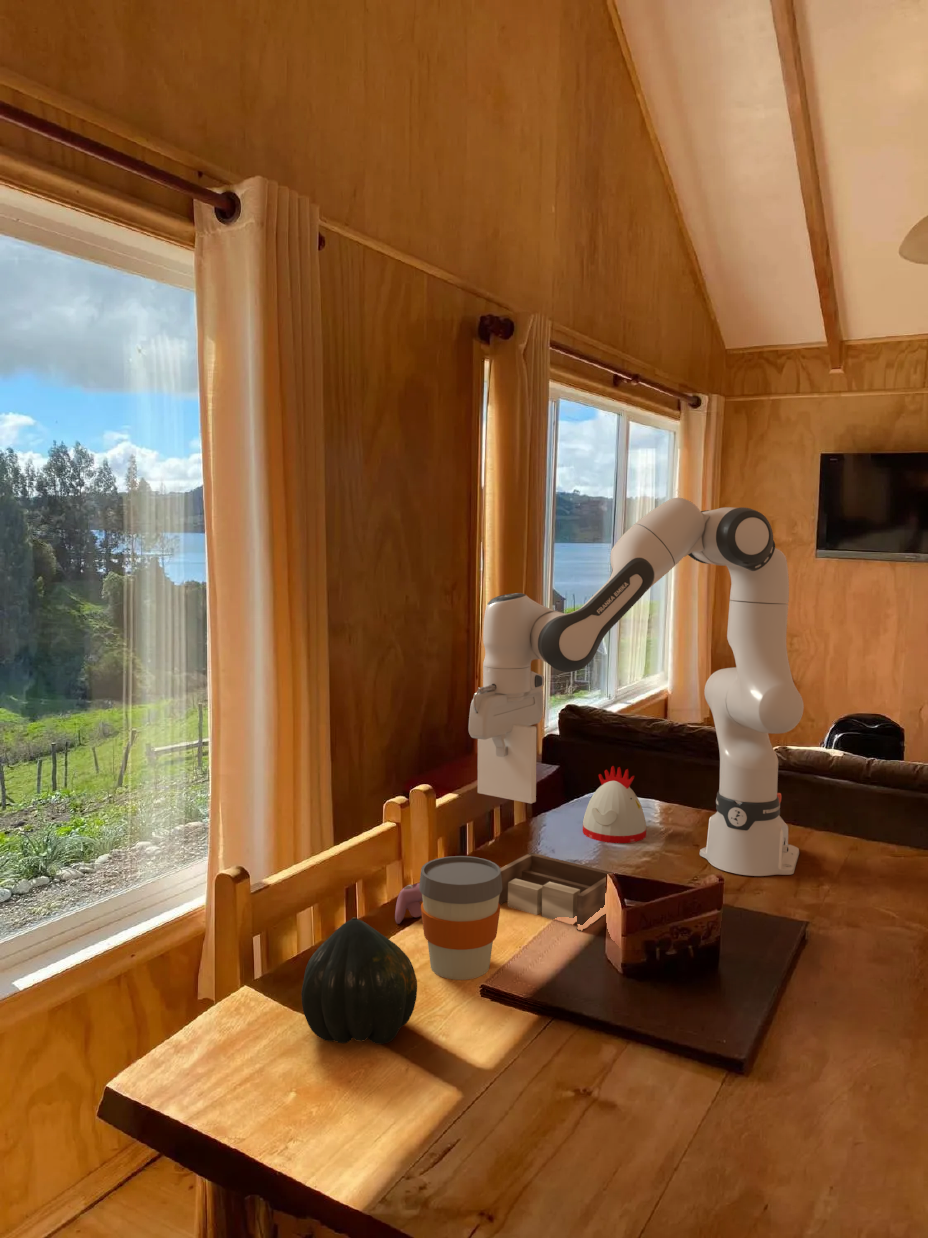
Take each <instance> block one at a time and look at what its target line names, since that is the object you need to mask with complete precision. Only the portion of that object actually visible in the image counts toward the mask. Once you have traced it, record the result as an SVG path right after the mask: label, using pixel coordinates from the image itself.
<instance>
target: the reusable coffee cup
mask: <svg viewBox="0 0 928 1238" xmlns="http://www.w3.org/2000/svg"><path fill="white" fill-rule="evenodd" d="M500 868H501V867H500V866H499V865H498V864H497V863H496V862H493V861H491V860H489V859H486V858H480V857H477V856H470V855H469V856H468V855H455V856H452V855H451V856H445V857H439V858H435V859H432V860H429V861H428V862H426V863H424V864H423V865H422V866H421V869H420V877H419V883H420V884H419V890H420V892H421V893H422V899H423V901H421V903H420V904H421V913H422V915H421V919H422V920H421V922H422V930H423V936H424V938H425V940H426V941H427V948H428V954H429V966H430V969H431V971H432V972H433V973H434V974H436V975H437V976H439V977H441V978H445V979H449V980H456V981H460V980H461V981H462V980H463V981H465V980H472V979H476V978H480V977H482V976H483V975H485V974H486V973H488V971H489V969H490V967H491V966H490V965H491V957H492V950H493V942H494V941H495V940H496V938H497V935H498V928H499V922H500V913H501V904H499V903H498V902H499V895H500V893H501V892H502V878H501V870H500Z"/></svg>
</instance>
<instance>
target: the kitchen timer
mask: <svg viewBox="0 0 928 1238" xmlns="http://www.w3.org/2000/svg"><path fill="white" fill-rule="evenodd" d="M604 776H605V779H604V777H603V775H602V774H601V773H599V774H598V779H599V782H600V784H601V785H600V786H599V787H598V788H597V789H596V790H595V791H594V793H593V795H592V797H590V799H589V802H588V804H587V807H586V809H585V812H584V817H583V821H582V833H583V835H584V836H585V837H587V838H589V839H591V840H594V841H598V842H604V843H609V844H631V843H637V842H639V841H643V840H644V839H645V838H646V837H647V822H646V817H645V814H644V811H643V807H642V804H641V801H640V800H639V798H638V796H637V795H636V793H635V792H634V790H633V789H632V788H631V786H632V785H631V784H632V783H633V781H634V779H635V775H632V776H630V778H629V768H627V769H625V770H624V773H623V775H622V769H621V766H619V767H617V771H616V769H615V766H614V765H612V766H611V768H610V772H609V771H608V769H605V770H604Z"/></svg>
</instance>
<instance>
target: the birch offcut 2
mask: <svg viewBox="0 0 928 1238" xmlns="http://www.w3.org/2000/svg"><path fill="white" fill-rule="evenodd" d="M578 894H580V889H576V888H572V887H568V886H565V885H561V884H557V883H553V882H548V883H546V884H545V885H543V886H542V912H541V917H542V918H546V919H550V920H552V921H554V920H553V919H555V918H557V917H569V918H574V917H575V916H577V895H578Z"/></svg>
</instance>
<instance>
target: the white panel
mask: <svg viewBox="0 0 928 1238" xmlns="http://www.w3.org/2000/svg"><path fill="white" fill-rule="evenodd" d="M504 742H505V746H507V747H508V755H507V756H504V757H498V756H497V755H496V746H495V744H494V742H493V740H492V738H489V739H486V740H483V739H477V794H481V795H485V796H491V797H495V798H496V797H497V798H501V799H507V800H512V801H516V802H520V803H521V802H522V803H526V804H527V803H528V804H533V803H536V802H537V797H536V796H537V726H535V725H534V726H533V725H530V726H528V725H520V724H516V725H513V728H512V731H511V732H508V733H506V738H505V739H504Z"/></svg>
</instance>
